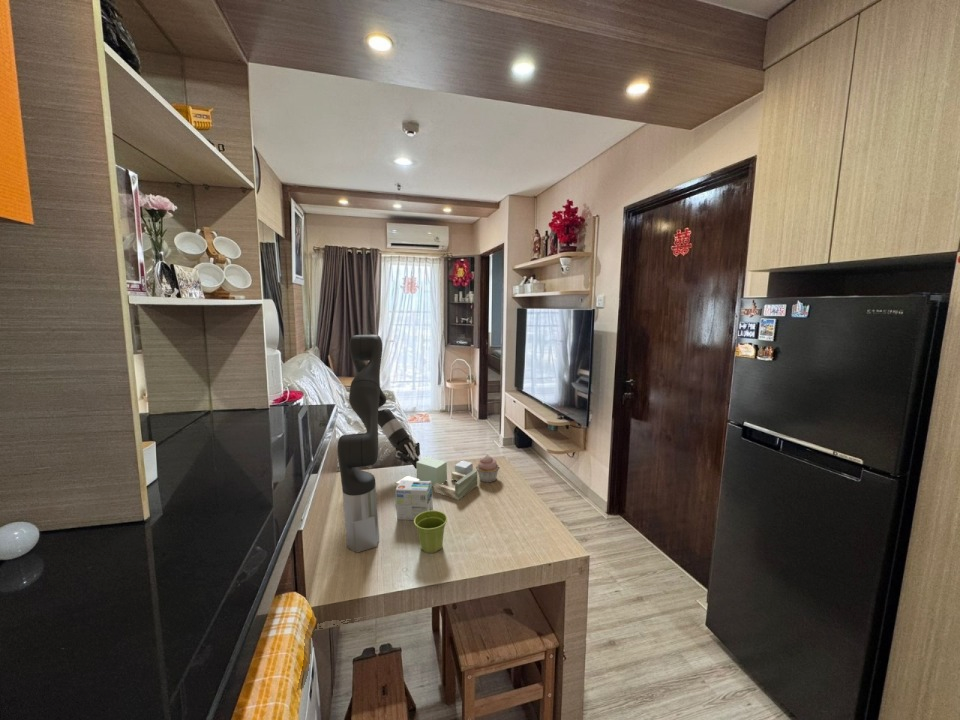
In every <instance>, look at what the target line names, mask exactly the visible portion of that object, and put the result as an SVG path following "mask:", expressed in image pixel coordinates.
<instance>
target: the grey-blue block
mask: <svg viewBox="0 0 960 720" xmlns="http://www.w3.org/2000/svg"><path fill="white" fill-rule="evenodd" d="M473 464H474V463H473V462H470V461H466V460H461V461H459V462H457V463H456V464H455V465H454V472H458V473H461V474H465V475H467V474H469V473H470V472H471V471H473V470H474V469H473V467H474V466H473Z"/></svg>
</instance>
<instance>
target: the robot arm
mask: <svg viewBox="0 0 960 720" xmlns="http://www.w3.org/2000/svg"><path fill="white" fill-rule="evenodd" d="M382 340H383V339H382V338H381V337H380V336H379V335H378V334H356V335H355V334H354V335H353V336H351V337H350V339H349V345H348V346H349V347H348V348H349V353H350V357H351V361H352V363H353V365H354V368H355V371H356V372H357V374H356V375H355V376H354V377H353V378H352V380H351V383H350V385H349V387H350V388H349V395H348V401H349V404H350V407H351V408H352V410H353V411H354V412H355V414H356V415H357V416H358V418H359V419H360V420H361V421H362V423H363V425H364V427H365V430H366V432H365V433H364V432H363V433H348V434H343V435H340V437H339V438H338V441H337V447H336V448H337V449H336V450H337V451H336V452H337V460H338V466H339V472H340V481H341V489H342V501H343V511H344V512H343V514H344V524H345V534H346V535H345V536H346V545H347V547H348V548H349V549H350V550H351V551H354V552H355V554H357V553H360V552H363V551H367V550H370V549H372V548H376V547H378V543H379V542H380V527H379V513H378V502H377V501H378V500H377V488H376V486H377V485H376V484H377V483H376V477H375V475H374V474H372V472H369V471H365V470H361V469H359V468H361V467H370V466H374V465H375V464H376V463H377V461H378V457H379V427H380V429H381V430H382V432H383V434H384V436H385V437H386V438H387V440H388V442H389V443H390V444H391V445H392V447H393V448H395V452H396V453H395V455H394V458H395V459H397V460H399V461H402V462H404V463H406V464H408V463H411V465H412V466H413V467H414V469H415V470H417V468H416V462H417V461H419V460H420V459H419V457H420V455H421V449H420V447H421V446H420V445H421V444H420V442H416V443H415V442H413V440H411V439H410V434H408V431H406V429H405V428H404V427H403V425H402V423H401V422H400V421H399V420H398V419H397V418H396V416H395V415H394V413H393V412H392V410H390V408H384V409H381V410H379V409H380V408H381V407H383V406H384V405H385V404H386V402H387V397H386V394H385V393H384V391H383V390H382V387H381V382H380V380H381V378H380V376H381V375H380V374H381V364H382V357H383V341H382ZM366 362H367V363H366Z"/></svg>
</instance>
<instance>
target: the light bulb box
mask: <svg viewBox="0 0 960 720" xmlns="http://www.w3.org/2000/svg"><path fill="white" fill-rule="evenodd" d="M400 480H401V479H400ZM394 492H395V503H396V504H395V506H396V516H397V517H396V520H404V521H405V520H407V521H408V520H409V521H414V519H415V517H416V516H417V515H418V514H420V513H423V512H426V511H434V505H433V504H434V503H433V502H434V501H433V486H432V483H431V481H405V480H401V482H400V483H399V485H398V486H397V488H395V491H394Z"/></svg>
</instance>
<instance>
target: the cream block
mask: <svg viewBox="0 0 960 720" xmlns="http://www.w3.org/2000/svg"><path fill="white" fill-rule="evenodd" d="M401 480H405V481H420V479H417V477H413V476H410V475H407V476H405V477H403V478H401V479H399V480H398V481H396V482H395V487H396V488H397V486H398V485H399V483H400V482H401ZM396 488H395V489H396Z"/></svg>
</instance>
